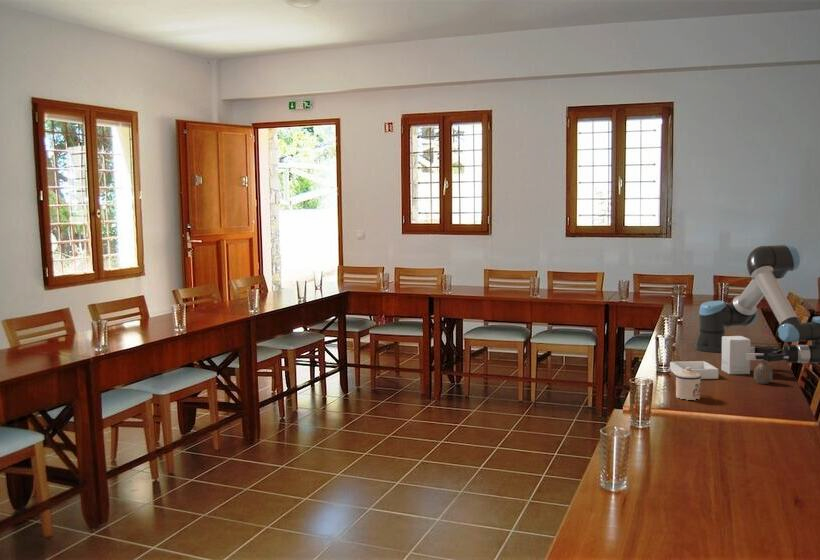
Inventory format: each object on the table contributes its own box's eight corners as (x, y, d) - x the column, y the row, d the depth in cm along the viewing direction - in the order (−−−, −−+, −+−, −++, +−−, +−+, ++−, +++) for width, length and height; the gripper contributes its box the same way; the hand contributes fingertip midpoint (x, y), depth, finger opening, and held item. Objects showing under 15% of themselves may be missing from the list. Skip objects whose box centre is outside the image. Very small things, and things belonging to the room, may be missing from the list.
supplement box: (750, 374, 313) (751, 339, 311) (729, 374, 313) (730, 339, 311) (741, 369, 322) (742, 335, 320) (720, 369, 322) (721, 335, 320)
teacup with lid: (697, 402, 274) (698, 371, 273) (672, 399, 279) (672, 368, 278) (705, 394, 284) (705, 364, 282) (680, 391, 289) (680, 362, 287)
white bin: (669, 370, 322) (669, 361, 322) (704, 370, 322) (704, 361, 322) (681, 379, 307) (681, 369, 307) (718, 378, 307) (718, 369, 307)
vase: (768, 380, 302) (769, 359, 301) (775, 385, 295) (775, 363, 294) (750, 380, 302) (751, 359, 301) (757, 385, 295) (757, 363, 294)
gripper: (806, 369, 300) (750, 368, 304) (786, 356, 324) (735, 355, 328) (806, 351, 299) (750, 350, 303) (787, 339, 323) (735, 338, 327)
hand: (742, 353), depth 315 cm, fingers open, 13 cm apart
